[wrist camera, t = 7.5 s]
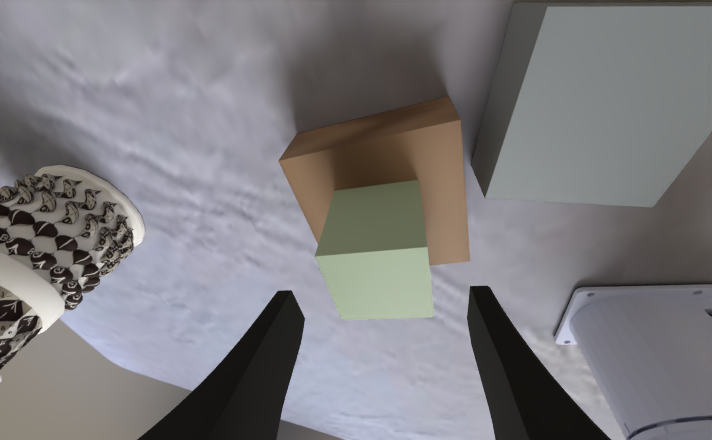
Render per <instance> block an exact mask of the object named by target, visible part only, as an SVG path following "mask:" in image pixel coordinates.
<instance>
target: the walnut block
mask: <svg viewBox="0 0 712 440" xmlns="http://www.w3.org/2000/svg"><path fill="white" fill-rule="evenodd" d="M279 163H280V165H281V167H282V169H283V171H284V174H285V176H286V178H287V180H288V182H289V184H290V186H291V188H292V190H293V192H294V195H295V197H296V199H297V201H298V203H299V205H300V207H301V209H302V211H303V213H304V216H305V218H306V220H307V222H308V224H309V226H310V228H311V230H312V232H313V234H314V237H315V239H316V241H317V243H318V244H319V241H320V238H321V234H322V231H323V227H324V224H325V221H326V217H327V214H328V211H329V207H330V204H331V201H332V197H333V194H334V191H337V190H345V189H352V188H360V187H367V186H375V185H382V184H390V183H397V182H405V181H413V180H419V186H420V194H421V201H422V209H423V216H424V224H425V232H426V239H427V247H428V257H429V266H430V265H439V264H448V263H458V262H467V261H470V253H469V238H468V223H467V208H466V192H465V177H464V162H463V147H462V131H461V119H460V117H459V115H458V113H457V111H456V109H455V107H454V105H453V104H452V102H451V100H450V98H449V96H448V97H444V98H440V99H435V100H431V101H427V102H423V103H419V104H415V105H411V106H407V107H403V108H399V109H395V110H391V111H387V112H383V113H379V114H375V115H371V116H367V117H363V118H359V119H355V120H350V121H346V122H342V123H338V124H334V125H330V126H326V127H322V128H318V129H314V130H310V131H306V132H302V133H298V134H296V136H295V137H294V139H293V140H292V142H291V143H290V145H289V146H288V148H287V149H286V151H285V152H284V153H283V155H282V156H281V158H280V159H279Z"/></svg>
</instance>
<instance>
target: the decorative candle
mask: <svg viewBox="0 0 712 440" xmlns="http://www.w3.org/2000/svg"><path fill="white" fill-rule="evenodd" d="M24 179H25V180H22V179H17V180H15V182H14V184H15V187H10V186H4V187H2V188H1V189H0V369H1V368H2V367H3V366H4V365H5V364H6V363H7V362H8V361H10V360H11V359H12V358H13V357H14V356H15V355H16V354H17V353H18V352H19V351H20V350H21V349H22V348H23V347H24V346H25V345H26V344H27V343H28V342H29V341H30V340H31V339H32V338H34V337H35V336H36V335H38V334H39V333H42V332H44V331H45V330H46V329H48V328H49V327H50V326H51V325H52V324H53V323H54V322H55V321H56V320H57V319H58V318H59V317H60V316H61V315H62V314H63V313H64V311H70V310H73V309H74V308H76V306H77V305H78V304H79V303H81V301H82V299H83V296H82V294H81V293H88V292H91V291H92V290H93V289H94V287H95V286H97V285H98V284H99V283H100V279H99V277H102V276H106V275H108V274H110V273H111V272H112V271H113V270H114V269H115V268H116V267H117V266H118V265H119V263H120V261H122V260H124V259H125V258H126V257H127V256H128V255H129V254H130V253H131V252H132V251H133V248H134V247H135V246H136V245H138V244H140V243H141V242H142V241H143V238H144V235H145V231H146V229H145V226H144V222H143V219H142V216H141V214H140V213H139V212H138V210H137V209H136V208H135V206H134V205H133V204H132V203H131V201H130V200H129V199H128V198H127V197H126V196H125V195H124V194H122V193H121V192H120V191H119V190H117V189H116V188H115V187H114V186H112V185H111V184H110V183H109V182H107V181H105V180H103V179H101V178H99V177H97V176H95V175H93V174H91V173H89V172H87V171H86V170H82V169H78V168H74V167H70V166H66V165H54V166H46V167H43V168H41V169H39V170H38V172H37V173H36V174H35V175H34V176H33V175H26V176H25V177H24ZM1 381H2V378H1V375H0V382H1Z"/></svg>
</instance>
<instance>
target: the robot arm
mask: <svg viewBox="0 0 712 440" xmlns="http://www.w3.org/2000/svg"><path fill="white" fill-rule="evenodd" d="M467 320H468V326H469V332H470V338H471V344H472V348H473V352H474V355H475V359H476V363H477V366H478V370H479V374H480V377H481V381H482V384H483V388H484V392H485V395H486V399H487V402H488V406H489V410H490V414H491V418H492V423H493V428H494V433H495V439H496V440H611V439H610V438H609V437H608V436H607V435H606V434H605V433H604V432H603V431H602V430H601V429H600V428H599V427H598V426H597V425H596V424H595V423H594V422H593V421H592V420H591V419H590V418H589V417H588V416H587V415H586V413H585V412H584V411H583V410H582V409H581V408H580V407H579V406H578V405H577V404H576V403H575V402H574V401H573V399H572V398H571V397H570V396H569V395H568V394H567V393H566V391H565V390H564V389H563V388H562V387H561V386H560V385H559V383H558V382H557V381H556V380H555V379H554V378H553V376H552V375H551V374H550V373H549V372H548V370H547V369H546V368H545V367H544V365H543V364H542V363H541V362H540V360H539V359H538V358H537V357H536V355H535V354H534V353H533V351H532V350H531V349H530V347H529V346H528V345H527V343H526V342H525V341H524V339H523V338H522V336H521V335H520V334H519V332H518V331H517V330H516V328H515V327H514V325H513V324H512V322H511V321H510V319H509V318H508V316H507V315H506V313H505V312H504V310H503V309H502V307H501V305H500V304H499V302H498V301H497V299H496V297H495V295H494V294H493V292H492V290H491V288H490V287H488V286H470V294H469V304H468V315H467ZM304 321H305V318H304V316H303V314H302V311H301V309H300V307H299V305H298V303H297V301H296V299H295V297H294V295H293V292H292V290H289V291H278V292H277V293H276V294H275V295H274V297H273V298H272V299H271V301H270V302H269V303H268V305H267V306H266V307H265V309H264V310H263V311H262V313H261V314H260V315H259V317H258V318H257V319H256V320H255V322H254V323H253V324H252V326H251V327H250V328H249V329H248V331H247V332H246V333H245V334H244V336H243V337H242V338H241V339H240V341H239V342H238V343H237V344H236V345H235V346H234V348H233V349H232V350H231V351H230V352H229V354H228V355H227V356H226V357H225V358H224V359H223V360H222V362H221V363H220V364H219V365H218V366H217V367H216V368H215V369H214V370H213V371H212V372H211V373H210V374H209V375H208V377H207V378H206V379H205V380H204V381H203V382H202V383H201V384H200V385H199V386H198V387H197V388H196V389H194V390H193V391H192V392H191V393H190V394H189V395H188V396H187V397H186V398H185V399H184V400H183V401H182V402H181V403H180V404H179V405H178V406H176V407H175V408H174V409H173V410H172V411H171V412H170V413H169V414H167V415H166V416H165V417H164V418H163V419H162V420H160V421H159V422H158V423H157V424H156V425H155V426H153V427H152V428H151V429H150V430H149V431H147V432H146V433H145V434H144V435H143V436H141V437H140V438H139V439H138V440H276V438H277V433H278V428H279V422H280V417H281V412H282V408H283V404H284V400H285V396H286V393H287V389H288V386H289V382H290V379H291V376H292V372H293V369H294V365H295V362H296V358H297V355H298V351H299V348H300V344H301V340H302V334H303V328H304ZM554 341H555V343H556V344H559V345H578V347H579V349H580V351H581V353H582V355H583V357H584V359H585V360H586V362H587V364H588V366H589V368H590V370H591V372H592V374H593V376H594V378H595V380H596V382H597V384H598V386H599V388H600V390H601V392H602V394H603V396H604V398H605V400H606V401H607V403H608V405H609V407H610V409H611V411H612V413H613V415H614V417H615V419H616V421H617V423H618V425H619V427H620V429H621V431H622V433H623V435H624V437H625V439H626V440H712V284H705V285H661V286H618V287H581V288H578V289H576V290H575V292H574V294H573V296H572V298H571V301H570V303H569V305H568V307H567V310H566V312H565V314H564V317H563V319H562V321H561V323H560V326H559V328H558V330H557V333H556V335H555V337H554Z"/></svg>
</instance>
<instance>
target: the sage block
mask: <svg viewBox="0 0 712 440" xmlns="http://www.w3.org/2000/svg"><path fill="white" fill-rule="evenodd" d="M315 258H316V261H317V263H318V265H319V268H320V270H321V273H322V275H323V277H324V280H325V282H326V284H327V287H328V289H329V292H330V294H331V296H332V299H333V301H334V304H335V306H336V308H337V311H338V313H339V316H340V318H341V320H364V319H392V318H421V317H434V311H433V300H432V289H431V279H430V268H429V257H428V247H427V239H426V232H425V224H424V216H423V209H422V201H421V194H420V186H419V180H413V181H405V182H397V183H390V184H382V185H375V186H367V187H360V188H352V189H345V190H337V191H334V194H333V197H332V201H331V204H330V207H329V211H328V214H327V217H326V221H325V224H324V227H323V231H322V234H321V238H320V241H319V244H318V248H317V251H316V254H315Z"/></svg>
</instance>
